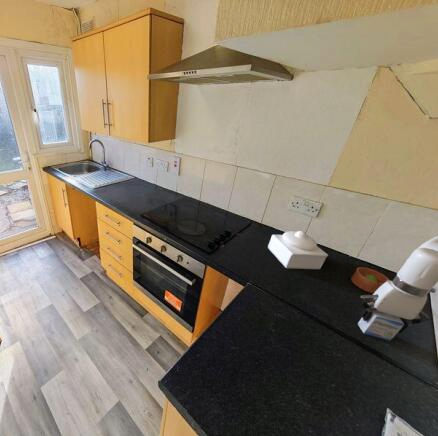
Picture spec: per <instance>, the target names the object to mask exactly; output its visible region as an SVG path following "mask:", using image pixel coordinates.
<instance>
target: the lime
mask: <svg viewBox="0 0 438 436" xmlns="http://www.w3.org/2000/svg"><path fill="white" fill-rule="evenodd" d="M364 277H366V278H367V279H369V280H372V281H374V282H377V283H378V280H377V278H376V277H374V276H372V275H365V276H364Z"/></svg>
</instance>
